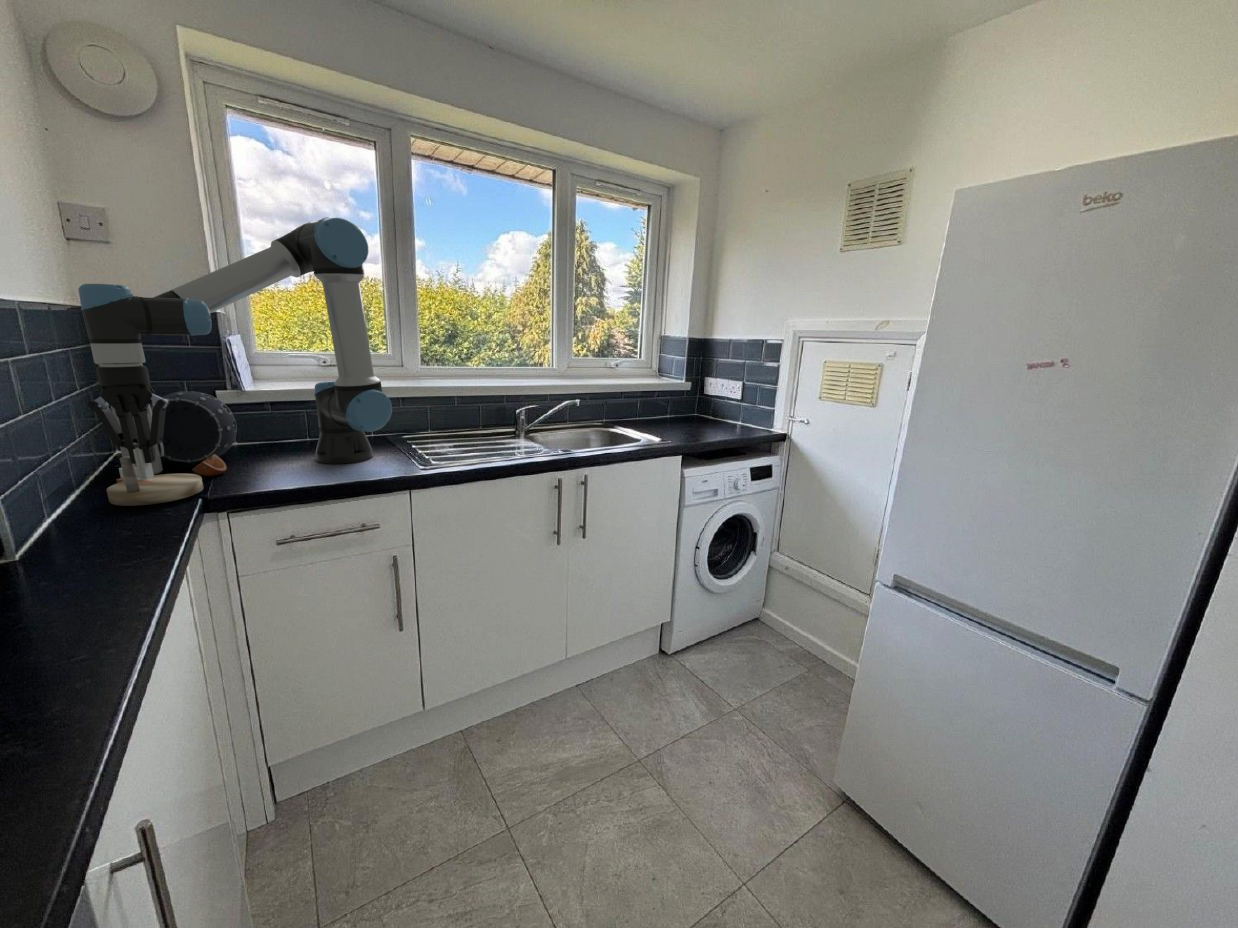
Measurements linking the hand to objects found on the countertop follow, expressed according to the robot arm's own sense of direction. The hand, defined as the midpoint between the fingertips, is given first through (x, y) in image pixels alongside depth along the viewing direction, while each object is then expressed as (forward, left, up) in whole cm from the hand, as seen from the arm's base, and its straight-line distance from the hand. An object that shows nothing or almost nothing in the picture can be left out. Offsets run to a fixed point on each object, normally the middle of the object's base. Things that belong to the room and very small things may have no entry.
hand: (147, 477), depth 109 cm
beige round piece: (+3, -7, -6) cm, 9 cm away
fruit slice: (-1, -24, -7) cm, 25 cm away
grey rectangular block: (+11, -16, -7) cm, 21 cm away
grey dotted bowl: (+8, -40, -7) cm, 42 cm away
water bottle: (+14, -28, -7) cm, 32 cm away
